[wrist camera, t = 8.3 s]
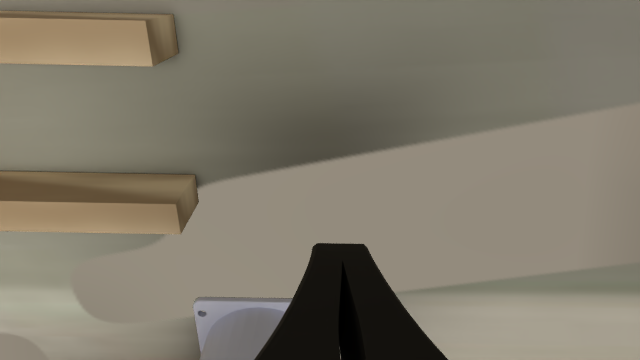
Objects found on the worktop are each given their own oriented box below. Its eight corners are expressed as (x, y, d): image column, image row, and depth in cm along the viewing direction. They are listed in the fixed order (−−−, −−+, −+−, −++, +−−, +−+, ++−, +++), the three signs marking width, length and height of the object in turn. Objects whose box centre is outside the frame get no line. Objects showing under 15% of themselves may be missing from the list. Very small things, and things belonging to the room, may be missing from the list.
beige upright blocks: (198, 201, 21) (180, 234, 18) (-10, 198, 21) (-59, 229, 18) (173, 14, 17) (145, 20, 14) (-87, 8, 17) (-164, 13, 14)
